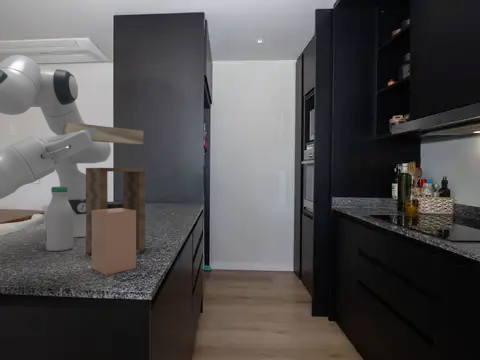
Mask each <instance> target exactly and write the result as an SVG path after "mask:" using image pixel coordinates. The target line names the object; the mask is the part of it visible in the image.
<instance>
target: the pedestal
mask: <svg viewBox="0 0 480 360" xmlns="http://www.w3.org/2000/svg"><path fill="white" fill-rule="evenodd" d="M136 268H137V254H136V210H130V209H124V208H115V209H102V210H92V257H91V269H93V270H94V271H96V272H98V273H100V274H103V275H105V276H107V275H112V274H118V273H121V272H125V271H129V270H134V269H136Z"/></svg>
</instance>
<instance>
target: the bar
mask: <svg viewBox="0 0 480 360" xmlns="http://www.w3.org/2000/svg"><path fill="white" fill-rule="evenodd" d="M93 127H94V128H95V129H96V130H97V132H98V133H97V135H95V136H93V137H91V139H92V141H97V142H109V144H125V145H126V144H127V145H134V146H135V145H143V144H144V130H138V129H130V128H120V127H112V126H105V125H96V124H88V123H87V124H86V123H85V124H79V123H70V122H68V123H64V124H63V135H64V134H69V133H72V132H77V131H81V130H87V129H90V128H93Z"/></svg>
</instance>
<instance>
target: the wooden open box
mask: <svg viewBox="0 0 480 360" xmlns="http://www.w3.org/2000/svg"><path fill="white" fill-rule="evenodd" d="M108 172H123V173H122V174H123V175H122V176H123V180H122V181H123V184H122V186H123V188H122V189H123V193H122V195H123V198H122V200H123V201H122V202H123V208H124V209H130V210H136V255H138V254H141V253H142V254H143V253H146V168H141V167H140V168H136V167H133V168H131V167H85V174H86V236H85V255H87V256H89V257H91V258H92V210H102V209H108V202H109V200H108V198H109V197H108Z"/></svg>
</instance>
